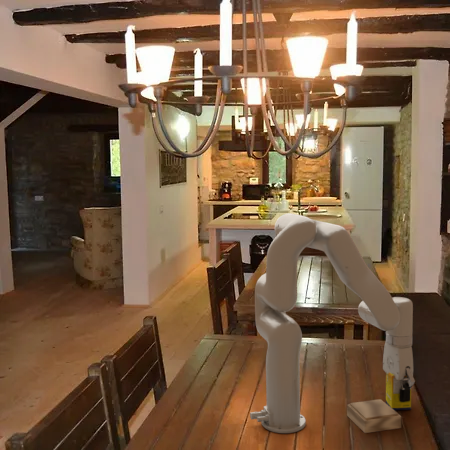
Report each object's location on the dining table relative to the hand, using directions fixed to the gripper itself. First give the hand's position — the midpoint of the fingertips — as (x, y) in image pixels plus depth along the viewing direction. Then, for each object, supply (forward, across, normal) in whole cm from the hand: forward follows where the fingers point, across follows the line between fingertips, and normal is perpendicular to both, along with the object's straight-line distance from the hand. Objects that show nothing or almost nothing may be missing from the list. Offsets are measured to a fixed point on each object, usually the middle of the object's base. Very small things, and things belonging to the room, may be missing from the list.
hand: (398, 396), depth 169 cm
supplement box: (+3, 0, 0) cm, 3 cm away
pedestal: (+3, +7, -12) cm, 14 cm away
